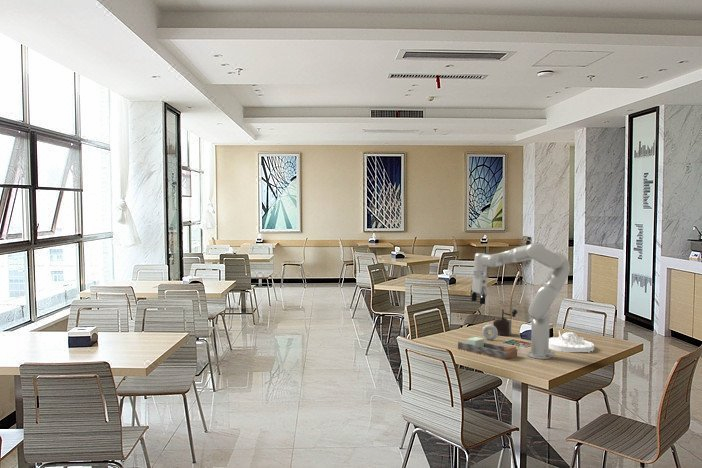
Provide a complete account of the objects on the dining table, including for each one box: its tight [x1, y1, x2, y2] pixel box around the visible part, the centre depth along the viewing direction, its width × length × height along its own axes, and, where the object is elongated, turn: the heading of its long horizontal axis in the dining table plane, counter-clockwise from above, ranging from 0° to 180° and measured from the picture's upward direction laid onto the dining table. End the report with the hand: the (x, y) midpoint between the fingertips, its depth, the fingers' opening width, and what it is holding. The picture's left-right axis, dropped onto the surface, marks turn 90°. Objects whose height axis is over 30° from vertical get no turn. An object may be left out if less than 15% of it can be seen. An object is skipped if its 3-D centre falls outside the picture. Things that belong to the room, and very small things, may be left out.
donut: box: [481, 323, 499, 341], centre depth 353 cm, size 10×4×10 cm, turn 62°
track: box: [457, 341, 518, 361], centre depth 320 cm, size 32×12×6 cm, turn 42°
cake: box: [549, 330, 595, 353], centre depth 336 cm, size 28×28×10 cm
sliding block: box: [466, 336, 485, 347], centre depth 326 cm, size 6×9×5 cm
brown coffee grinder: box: [492, 309, 518, 337], centre depth 369 cm, size 16×11×18 cm
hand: (478, 302), depth 331 cm, fingers open, 9 cm apart
